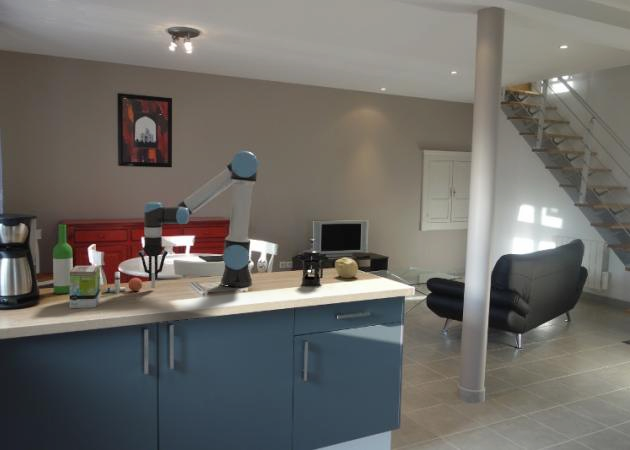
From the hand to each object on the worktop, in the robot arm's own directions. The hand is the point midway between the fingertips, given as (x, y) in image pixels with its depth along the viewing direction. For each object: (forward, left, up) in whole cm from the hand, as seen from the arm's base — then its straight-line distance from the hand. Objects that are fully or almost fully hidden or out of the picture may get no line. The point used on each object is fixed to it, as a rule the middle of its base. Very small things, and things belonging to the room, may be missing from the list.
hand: (153, 287), depth 237 cm
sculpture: (-44, -92, -2) cm, 102 cm away
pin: (+6, +14, -1) cm, 16 cm away
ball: (+4, +6, +2) cm, 8 cm away
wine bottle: (+24, +30, -2) cm, 38 cm away
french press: (-42, -63, -2) cm, 76 cm away
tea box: (-2, +33, -2) cm, 33 cm away
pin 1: (+10, +12, -1) cm, 16 cm away
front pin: (+7, +10, 0) cm, 12 cm away
